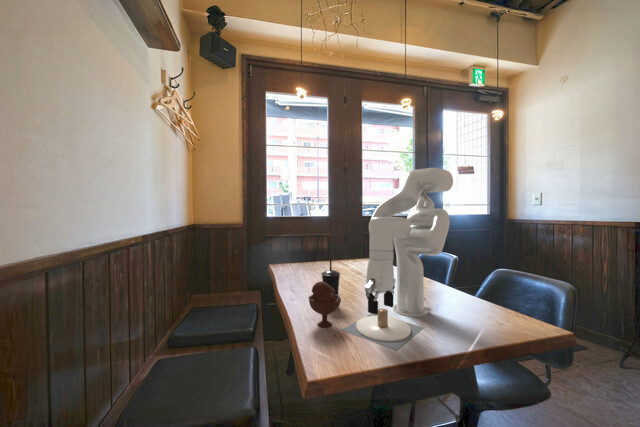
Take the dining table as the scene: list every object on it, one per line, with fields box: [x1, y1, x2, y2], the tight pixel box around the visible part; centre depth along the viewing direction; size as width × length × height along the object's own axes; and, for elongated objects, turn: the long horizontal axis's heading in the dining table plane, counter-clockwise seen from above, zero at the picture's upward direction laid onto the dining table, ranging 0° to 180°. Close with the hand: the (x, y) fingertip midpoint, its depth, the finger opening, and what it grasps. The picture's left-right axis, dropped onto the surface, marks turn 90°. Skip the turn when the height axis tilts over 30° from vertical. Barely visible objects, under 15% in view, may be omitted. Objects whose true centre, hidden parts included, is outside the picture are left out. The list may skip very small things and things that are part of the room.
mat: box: [341, 313, 425, 351], centre depth 82 cm, size 19×19×1 cm
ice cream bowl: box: [307, 281, 342, 329], centre depth 86 cm, size 11×11×15 cm
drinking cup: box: [320, 257, 341, 295], centre depth 104 cm, size 8×8×20 cm
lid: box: [356, 308, 411, 342], centre depth 82 cm, size 17×17×6 cm
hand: (381, 309), depth 82 cm, fingers open, 9 cm apart
